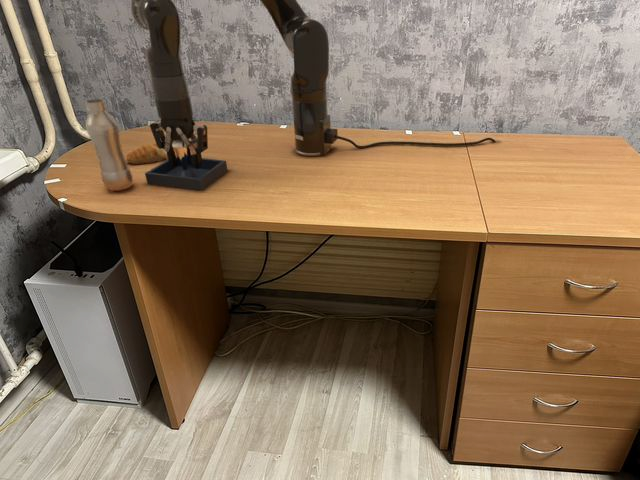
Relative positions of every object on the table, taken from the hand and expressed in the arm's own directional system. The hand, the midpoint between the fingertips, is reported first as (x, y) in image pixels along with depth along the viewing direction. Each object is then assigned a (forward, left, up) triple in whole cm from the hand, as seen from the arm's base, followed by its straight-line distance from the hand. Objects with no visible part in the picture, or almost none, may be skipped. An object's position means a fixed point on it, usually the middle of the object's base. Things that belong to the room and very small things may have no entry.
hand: (186, 166), depth 117 cm
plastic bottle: (+12, +10, -3) cm, 16 cm away
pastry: (+17, -8, -3) cm, 19 cm away
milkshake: (0, 0, -3) cm, 3 cm away
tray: (0, 0, -3) cm, 3 cm away
